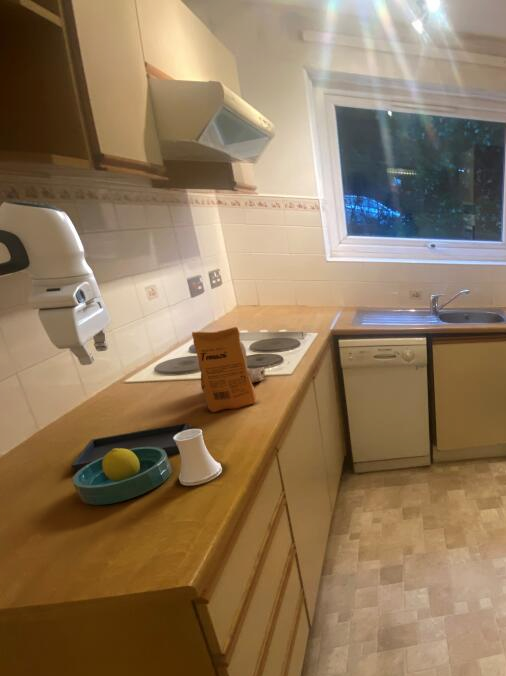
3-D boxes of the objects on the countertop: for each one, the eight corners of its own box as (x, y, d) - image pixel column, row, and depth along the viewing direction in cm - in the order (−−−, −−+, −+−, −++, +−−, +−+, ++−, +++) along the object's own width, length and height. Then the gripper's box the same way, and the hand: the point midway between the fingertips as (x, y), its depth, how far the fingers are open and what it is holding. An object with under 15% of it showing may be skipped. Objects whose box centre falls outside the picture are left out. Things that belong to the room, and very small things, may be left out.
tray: (74, 473, 93) (71, 465, 92) (94, 446, 103) (91, 439, 102) (182, 452, 101) (179, 444, 100) (190, 429, 111) (188, 422, 110)
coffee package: (209, 401, 126) (187, 328, 118) (257, 392, 132) (239, 322, 123) (205, 414, 118) (181, 337, 110) (257, 405, 124) (238, 331, 115)
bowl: (69, 515, 81) (59, 495, 79) (96, 474, 93) (88, 456, 91) (164, 493, 87) (157, 475, 85) (178, 457, 99) (172, 440, 97)
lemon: (108, 493, 86) (93, 459, 83) (113, 479, 90) (98, 446, 87) (143, 484, 89) (130, 450, 86) (146, 471, 93) (133, 438, 90)
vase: (221, 479, 91) (208, 437, 87) (177, 489, 88) (162, 447, 84) (222, 461, 97) (210, 422, 93) (182, 471, 94) (167, 431, 90)
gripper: (68, 283, 92) (93, 345, 98) (22, 302, 75) (56, 375, 81) (105, 280, 95) (128, 341, 100) (70, 298, 78) (99, 369, 84)
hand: (95, 356), depth 90 cm, fingers open, 8 cm apart
